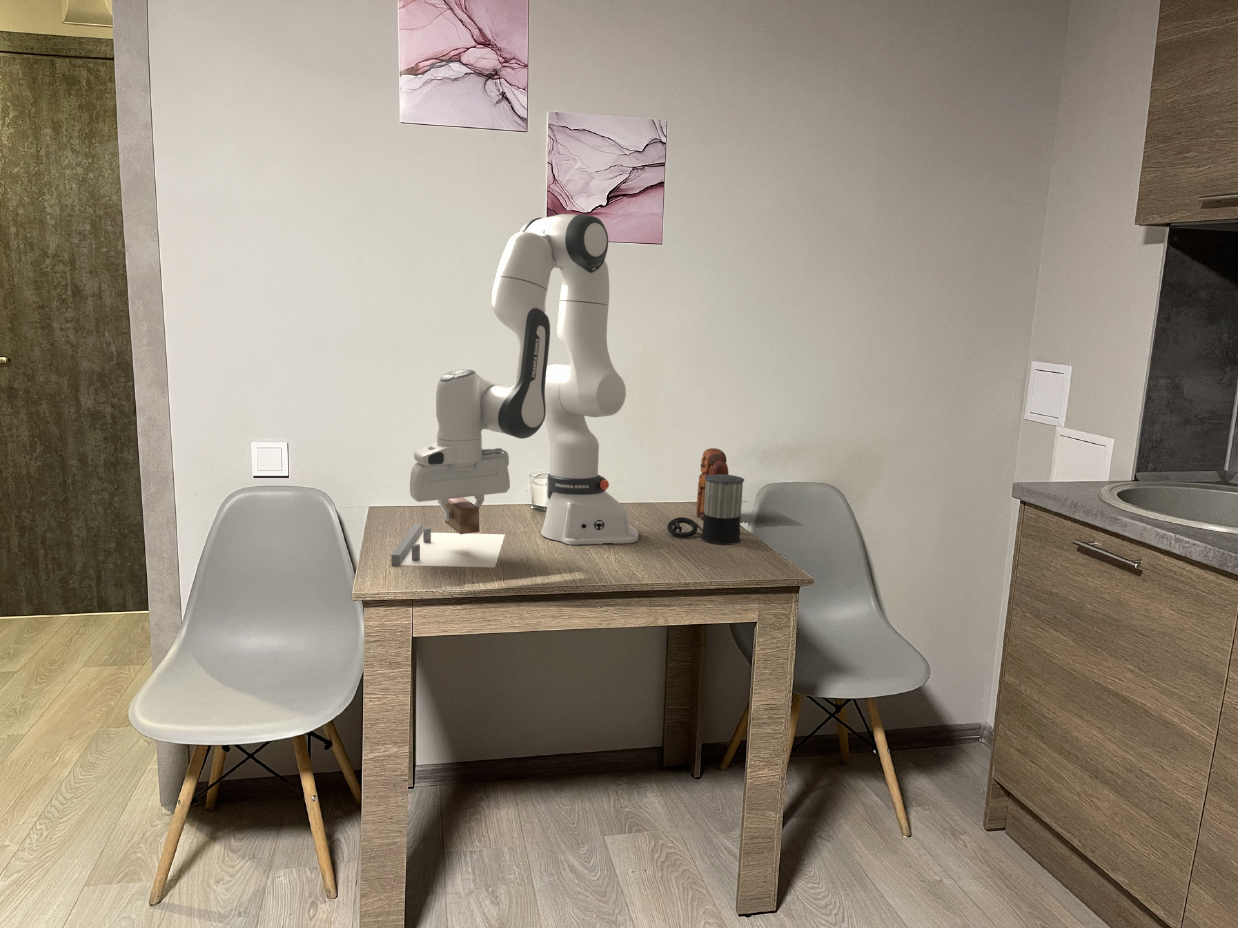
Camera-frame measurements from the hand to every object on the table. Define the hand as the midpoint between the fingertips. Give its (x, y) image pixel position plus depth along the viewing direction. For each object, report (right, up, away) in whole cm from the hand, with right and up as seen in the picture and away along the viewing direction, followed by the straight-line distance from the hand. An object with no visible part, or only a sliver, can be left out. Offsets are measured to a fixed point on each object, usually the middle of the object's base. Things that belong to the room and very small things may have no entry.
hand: (461, 517), depth 184 cm
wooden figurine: (+56, -3, +48) cm, 73 cm away
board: (-3, -8, +5) cm, 9 cm away
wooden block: (0, -2, 0) cm, 2 cm away
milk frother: (+52, -7, +27) cm, 59 cm away
